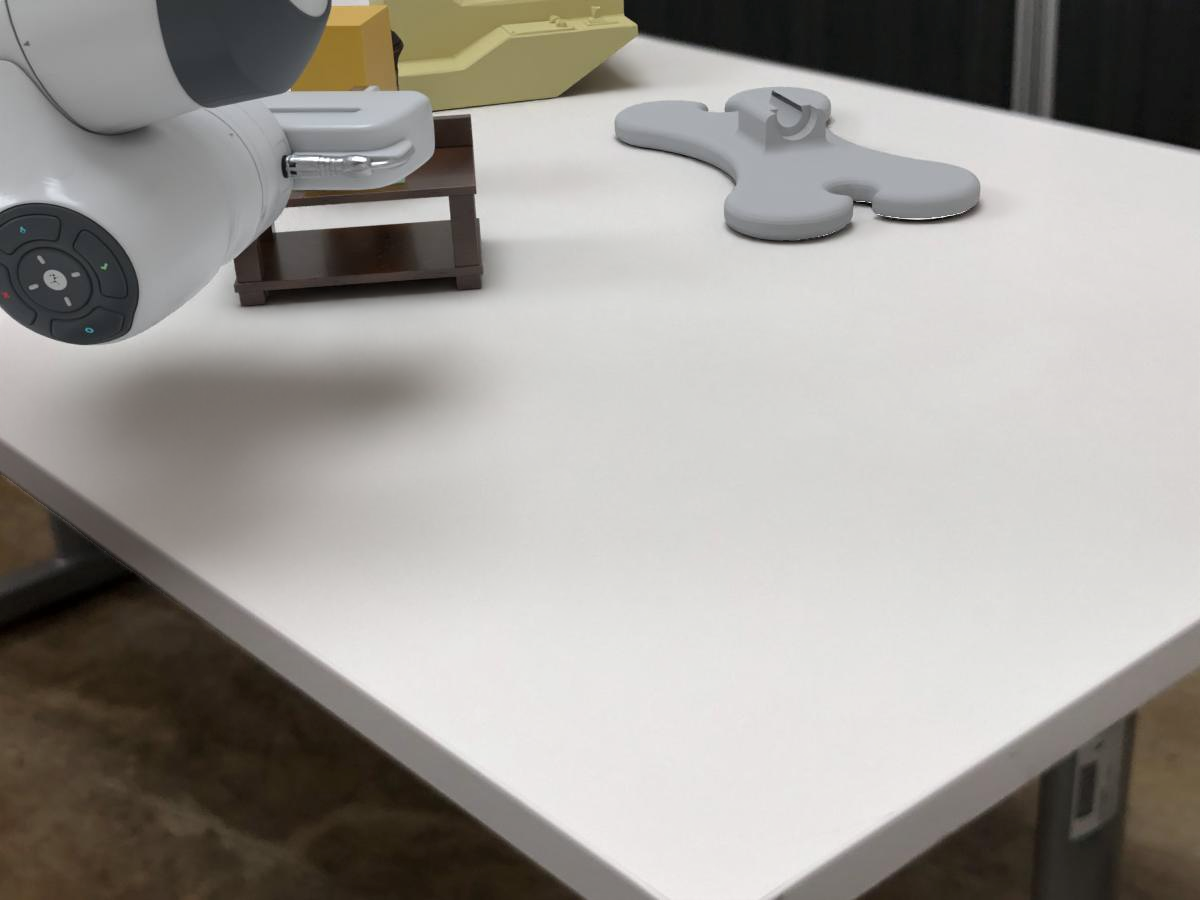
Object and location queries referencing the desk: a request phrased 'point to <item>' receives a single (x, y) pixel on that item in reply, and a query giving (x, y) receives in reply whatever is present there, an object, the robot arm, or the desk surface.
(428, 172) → the rack
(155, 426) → the desk surface
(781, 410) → the desk surface
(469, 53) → the control panel
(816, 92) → the holder
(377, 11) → the block
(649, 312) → the desk surface
